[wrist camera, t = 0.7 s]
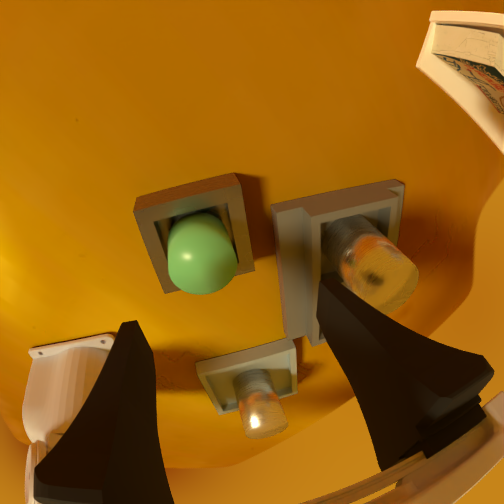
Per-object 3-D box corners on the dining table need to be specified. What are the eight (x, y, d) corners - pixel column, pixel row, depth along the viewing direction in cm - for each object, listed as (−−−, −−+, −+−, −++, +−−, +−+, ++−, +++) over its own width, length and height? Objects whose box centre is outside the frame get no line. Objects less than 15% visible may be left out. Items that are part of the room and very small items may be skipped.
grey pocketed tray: (284, 331, 27) (293, 352, 25) (270, 204, 20) (283, 223, 17) (378, 299, 28) (392, 316, 26) (395, 179, 21) (416, 192, 19)
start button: (176, 271, 19) (179, 301, 16) (160, 221, 17) (159, 247, 14) (232, 256, 19) (242, 285, 17) (221, 205, 17) (230, 229, 15)
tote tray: (217, 404, 32) (219, 414, 31) (194, 362, 26) (196, 374, 25) (293, 383, 33) (297, 393, 32) (290, 336, 28) (295, 347, 26)
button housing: (164, 275, 20) (164, 293, 19) (136, 197, 17) (133, 211, 15) (247, 253, 21) (255, 270, 20) (233, 172, 18) (240, 183, 16)
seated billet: (321, 267, 22) (360, 324, 17) (321, 220, 20) (368, 274, 15) (367, 253, 22) (411, 303, 18) (371, 208, 20) (424, 254, 15)
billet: (235, 393, 30) (249, 442, 25) (228, 375, 28) (242, 428, 23) (271, 383, 31) (288, 430, 26) (268, 364, 28) (287, 416, 23)
